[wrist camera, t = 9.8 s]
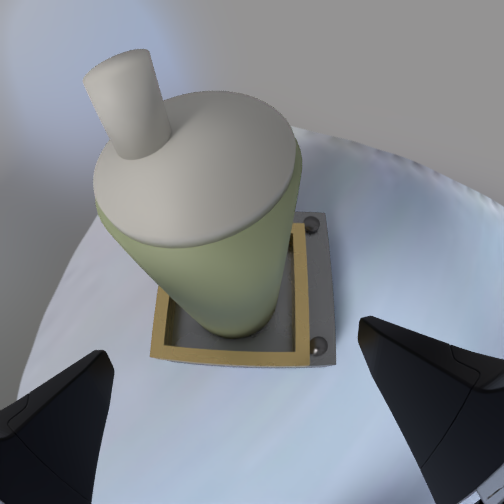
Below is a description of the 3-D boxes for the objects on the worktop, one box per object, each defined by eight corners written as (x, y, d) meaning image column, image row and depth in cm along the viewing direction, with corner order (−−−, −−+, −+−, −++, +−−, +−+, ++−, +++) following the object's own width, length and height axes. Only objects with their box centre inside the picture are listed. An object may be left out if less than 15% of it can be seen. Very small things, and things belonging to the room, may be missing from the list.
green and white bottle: (287, 269, 18) (331, 31, 5) (261, 350, 16) (268, 196, 3) (209, 246, 19) (140, 28, 6) (177, 321, 17) (-1, 152, 3)
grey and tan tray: (317, 232, 23) (329, 201, 19) (324, 367, 18) (343, 363, 14) (188, 230, 23) (175, 198, 19) (172, 362, 18) (149, 357, 14)
